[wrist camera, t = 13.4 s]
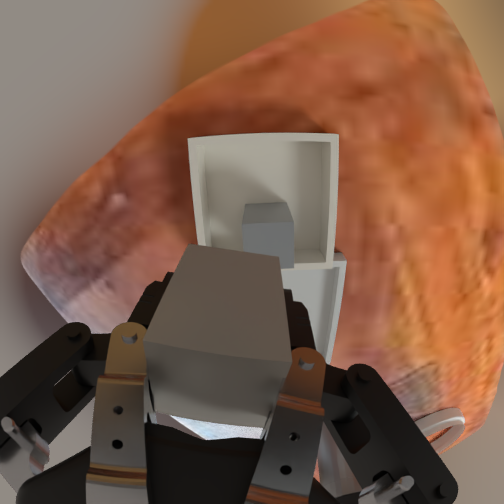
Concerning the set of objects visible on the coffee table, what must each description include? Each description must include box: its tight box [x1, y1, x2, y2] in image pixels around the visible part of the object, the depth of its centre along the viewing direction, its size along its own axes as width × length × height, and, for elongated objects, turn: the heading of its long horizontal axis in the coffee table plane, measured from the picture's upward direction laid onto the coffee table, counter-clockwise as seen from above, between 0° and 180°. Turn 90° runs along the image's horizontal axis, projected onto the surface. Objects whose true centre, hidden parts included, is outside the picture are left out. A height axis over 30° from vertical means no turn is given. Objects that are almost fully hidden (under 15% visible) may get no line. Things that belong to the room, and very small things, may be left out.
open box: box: [188, 133, 339, 271], centre depth 25 cm, size 12×12×4 cm
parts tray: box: [281, 252, 347, 364], centre depth 32 cm, size 15×14×2 cm
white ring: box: [415, 408, 465, 454], centre depth 49 cm, size 27×27×5 cm
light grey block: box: [143, 244, 292, 428], centre depth 10 cm, size 4×4×6 cm
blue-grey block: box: [241, 202, 294, 269], centre depth 25 cm, size 4×4×6 cm
